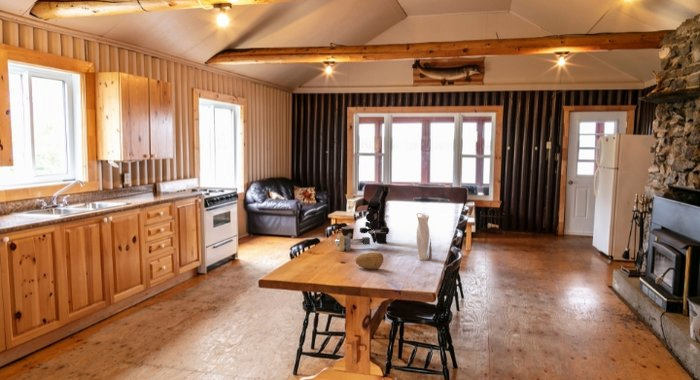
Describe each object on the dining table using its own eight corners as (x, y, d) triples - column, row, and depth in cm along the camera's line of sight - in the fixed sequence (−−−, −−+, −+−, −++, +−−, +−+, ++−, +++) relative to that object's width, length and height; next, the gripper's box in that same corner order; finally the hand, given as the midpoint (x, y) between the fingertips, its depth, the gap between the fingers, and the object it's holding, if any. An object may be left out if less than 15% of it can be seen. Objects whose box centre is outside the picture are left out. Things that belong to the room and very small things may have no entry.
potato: (358, 265, 262) (358, 249, 261) (385, 268, 256) (385, 251, 255) (353, 269, 253) (353, 252, 253) (380, 272, 248) (381, 254, 247)
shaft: (368, 243, 307) (368, 237, 307) (369, 244, 304) (369, 238, 303) (334, 244, 302) (334, 238, 302) (335, 245, 298) (335, 239, 298)
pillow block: (347, 247, 307) (347, 235, 306) (350, 250, 298) (350, 238, 298) (342, 247, 306) (343, 235, 306) (346, 250, 298) (346, 238, 297)
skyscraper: (419, 261, 272) (419, 214, 270) (413, 258, 280) (414, 212, 277) (432, 260, 275) (433, 213, 272) (426, 257, 282) (427, 211, 280)
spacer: (341, 248, 306) (341, 233, 305) (344, 250, 298) (344, 236, 297) (337, 248, 305) (337, 234, 304) (339, 251, 297) (339, 236, 296)
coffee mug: (354, 240, 329) (354, 226, 328) (353, 243, 321) (353, 229, 320) (338, 240, 331) (338, 226, 330) (336, 242, 322) (336, 228, 321)
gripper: (384, 217, 315) (384, 239, 316) (357, 217, 311) (357, 241, 312) (389, 219, 304) (389, 243, 305) (361, 220, 300) (361, 244, 301)
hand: (374, 242), depth 306 cm, fingers closed
